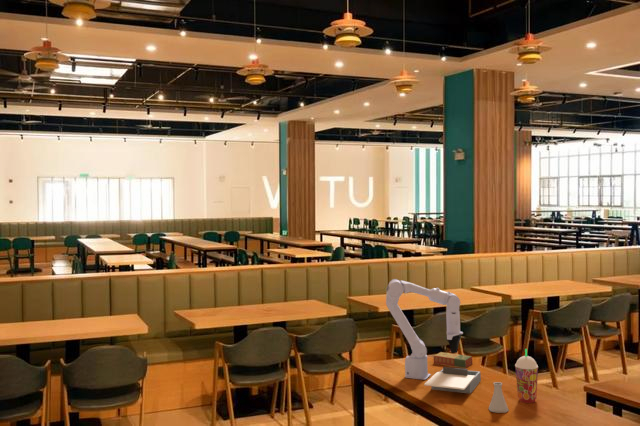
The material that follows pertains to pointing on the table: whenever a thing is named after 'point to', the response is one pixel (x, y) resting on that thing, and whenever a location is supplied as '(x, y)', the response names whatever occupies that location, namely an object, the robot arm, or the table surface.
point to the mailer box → (469, 387)
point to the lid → (451, 378)
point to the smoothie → (526, 378)
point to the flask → (498, 400)
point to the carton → (453, 360)
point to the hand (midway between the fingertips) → (454, 352)
